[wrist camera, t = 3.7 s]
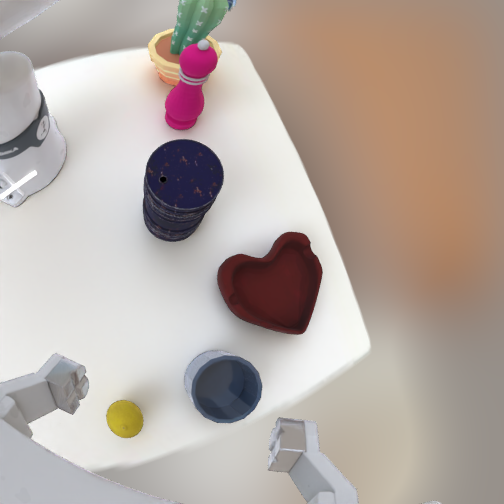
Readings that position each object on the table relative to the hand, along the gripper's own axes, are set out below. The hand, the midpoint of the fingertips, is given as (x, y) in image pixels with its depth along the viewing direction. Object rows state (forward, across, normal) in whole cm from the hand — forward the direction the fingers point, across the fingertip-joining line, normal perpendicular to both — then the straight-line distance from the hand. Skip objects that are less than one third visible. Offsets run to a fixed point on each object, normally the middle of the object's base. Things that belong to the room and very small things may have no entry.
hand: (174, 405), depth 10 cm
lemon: (+19, +13, +30) cm, 37 cm away
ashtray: (+38, -6, +13) cm, 41 cm away
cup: (+27, 0, +25) cm, 37 cm away
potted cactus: (+55, +22, -25) cm, 64 cm away
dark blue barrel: (+38, +13, +3) cm, 41 cm away
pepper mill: (+49, +17, -14) cm, 54 cm away
